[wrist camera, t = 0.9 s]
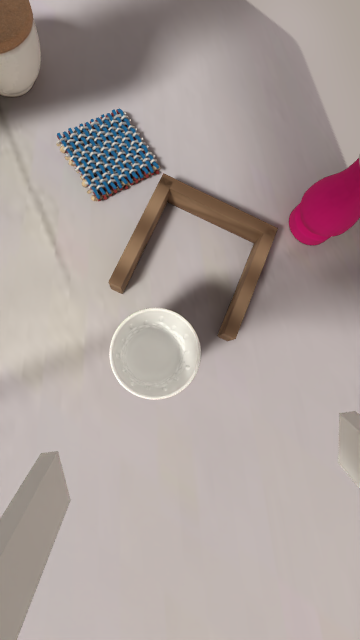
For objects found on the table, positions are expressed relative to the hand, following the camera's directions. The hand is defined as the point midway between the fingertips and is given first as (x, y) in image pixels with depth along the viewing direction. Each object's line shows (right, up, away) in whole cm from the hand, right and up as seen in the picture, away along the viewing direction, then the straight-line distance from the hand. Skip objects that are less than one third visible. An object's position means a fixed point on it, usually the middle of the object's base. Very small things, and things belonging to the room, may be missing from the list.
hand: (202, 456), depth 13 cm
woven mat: (-11, +28, +25) cm, 39 cm away
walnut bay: (+1, +14, +23) cm, 27 cm away
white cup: (-4, +2, +21) cm, 21 cm away
